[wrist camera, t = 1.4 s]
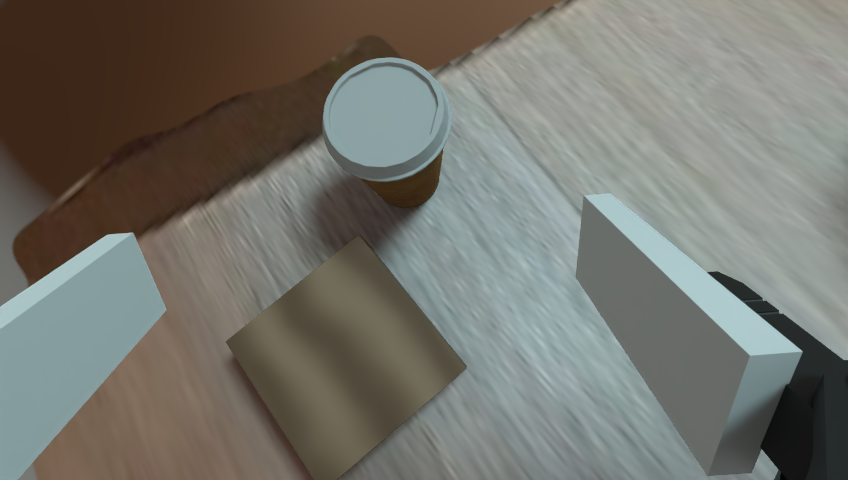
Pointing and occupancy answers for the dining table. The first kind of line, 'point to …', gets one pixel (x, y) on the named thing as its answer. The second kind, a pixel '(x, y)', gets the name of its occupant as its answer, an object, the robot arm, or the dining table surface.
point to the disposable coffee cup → (389, 128)
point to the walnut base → (344, 359)
